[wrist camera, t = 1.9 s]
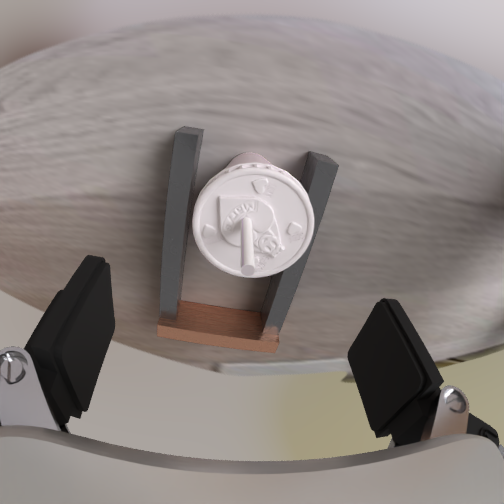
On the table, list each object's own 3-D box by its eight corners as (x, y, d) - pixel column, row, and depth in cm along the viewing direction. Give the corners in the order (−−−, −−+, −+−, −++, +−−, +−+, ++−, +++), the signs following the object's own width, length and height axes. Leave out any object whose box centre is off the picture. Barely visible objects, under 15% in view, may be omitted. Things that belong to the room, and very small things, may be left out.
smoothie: (251, 119, 21) (264, 161, 9) (305, 176, 24) (367, 278, 12) (192, 174, 23) (143, 276, 11) (247, 225, 26) (253, 354, 14)
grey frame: (327, 156, 23) (343, 169, 19) (271, 325, 32) (274, 353, 29) (183, 126, 21) (172, 133, 18) (164, 308, 30) (157, 336, 27)
